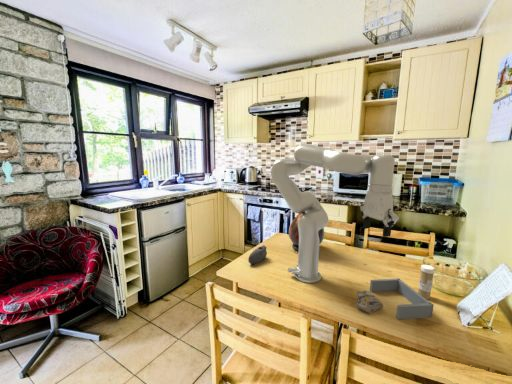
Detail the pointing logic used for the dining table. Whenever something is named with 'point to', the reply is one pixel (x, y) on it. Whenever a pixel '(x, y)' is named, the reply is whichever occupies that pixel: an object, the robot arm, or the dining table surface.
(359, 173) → the robot arm
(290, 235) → the amphora vase
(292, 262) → the dining table surface
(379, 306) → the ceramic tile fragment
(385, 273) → the dining table surface
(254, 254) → the perforated stone tool
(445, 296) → the dining table surface
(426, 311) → the box
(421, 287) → the sprinkles bottle
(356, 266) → the dining table surface
